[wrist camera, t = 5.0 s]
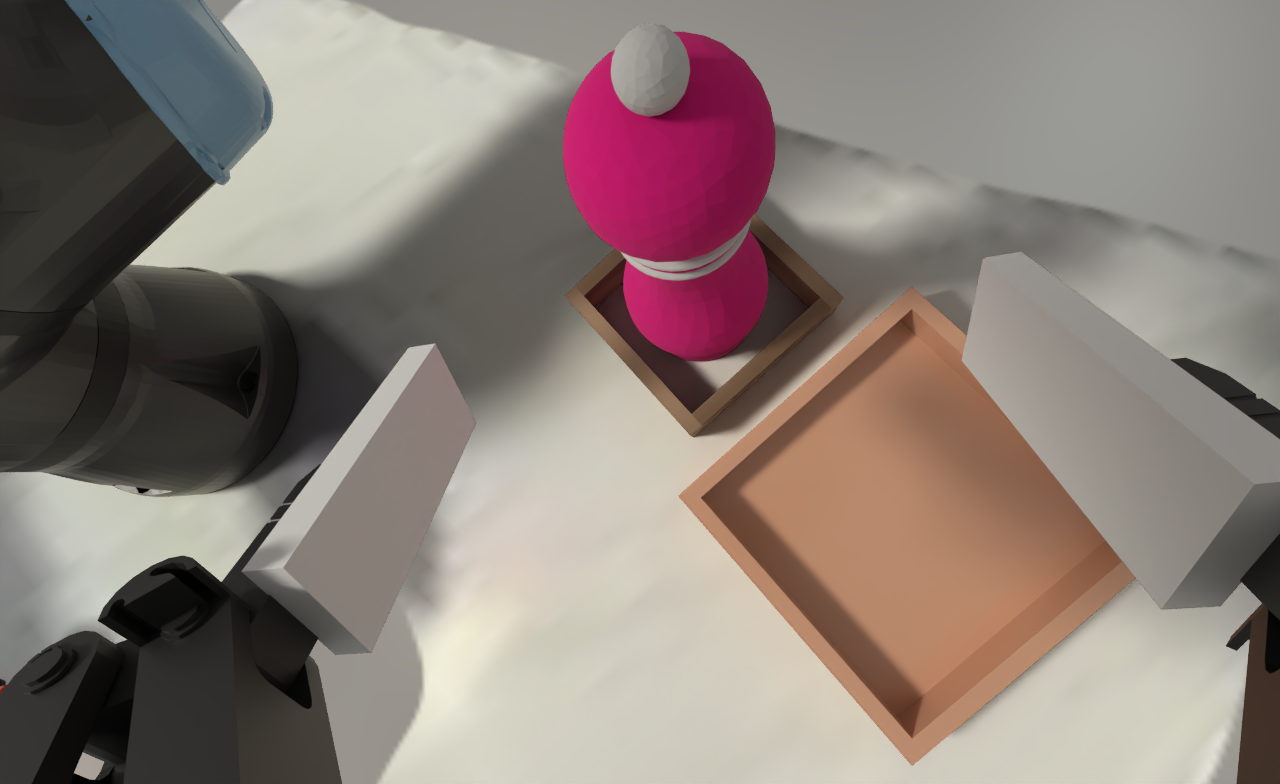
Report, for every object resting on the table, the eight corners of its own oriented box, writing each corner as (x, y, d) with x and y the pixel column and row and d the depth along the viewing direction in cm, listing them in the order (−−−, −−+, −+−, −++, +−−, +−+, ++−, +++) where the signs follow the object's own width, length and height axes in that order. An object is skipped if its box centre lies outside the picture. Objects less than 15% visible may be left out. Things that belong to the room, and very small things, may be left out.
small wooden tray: (577, 308, 32) (564, 295, 29) (705, 188, 31) (703, 166, 29) (693, 437, 29) (690, 435, 27) (833, 311, 29) (843, 297, 26)
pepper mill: (646, 378, 30) (493, 234, 11) (633, 261, 31) (472, -62, 12) (771, 361, 29) (854, 166, 10) (753, 241, 30) (795, -156, 11)
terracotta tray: (683, 492, 29) (678, 496, 26) (893, 304, 28) (912, 286, 25) (891, 730, 26) (912, 765, 23) (1134, 525, 25) (1187, 534, 22)
